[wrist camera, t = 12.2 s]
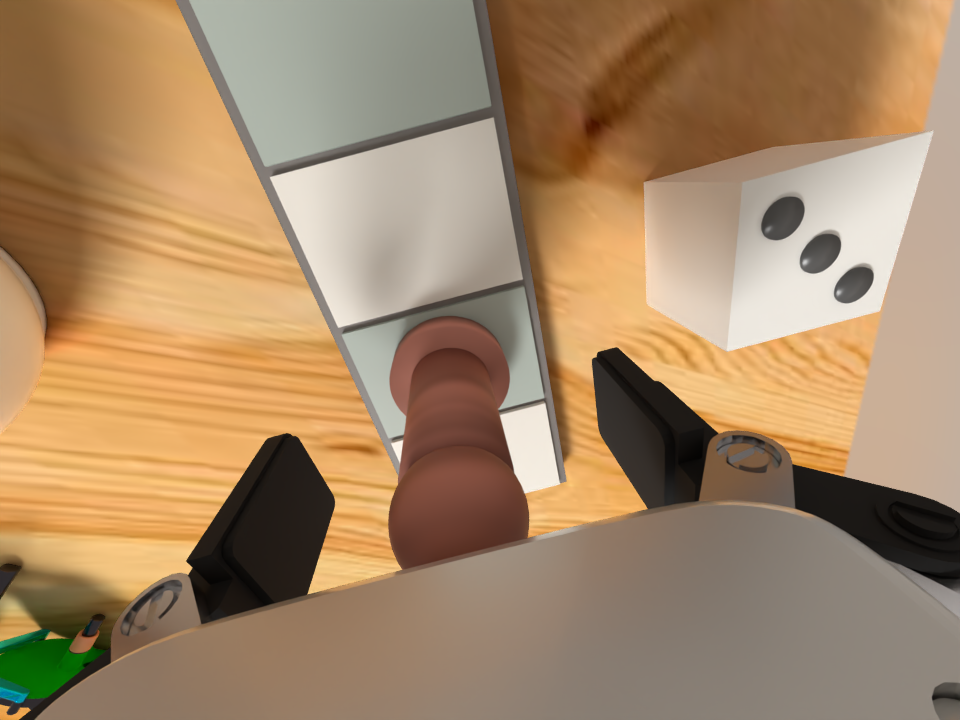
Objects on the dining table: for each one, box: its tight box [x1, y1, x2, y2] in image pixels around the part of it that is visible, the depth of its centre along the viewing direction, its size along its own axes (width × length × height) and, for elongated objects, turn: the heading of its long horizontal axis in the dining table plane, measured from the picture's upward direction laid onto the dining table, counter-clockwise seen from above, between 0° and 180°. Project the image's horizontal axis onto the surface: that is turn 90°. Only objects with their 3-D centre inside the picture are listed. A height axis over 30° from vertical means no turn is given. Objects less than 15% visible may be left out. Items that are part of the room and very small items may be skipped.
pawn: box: [388, 316, 529, 570], centre depth 11 cm, size 5×5×9 cm
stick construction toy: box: [0, 564, 106, 715], centre depth 19 cm, size 12×7×8 cm
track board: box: [176, 0, 566, 493], centre depth 13 cm, size 28×8×1 cm, turn 13°
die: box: [644, 131, 934, 352], centre depth 12 cm, size 5×5×5 cm
